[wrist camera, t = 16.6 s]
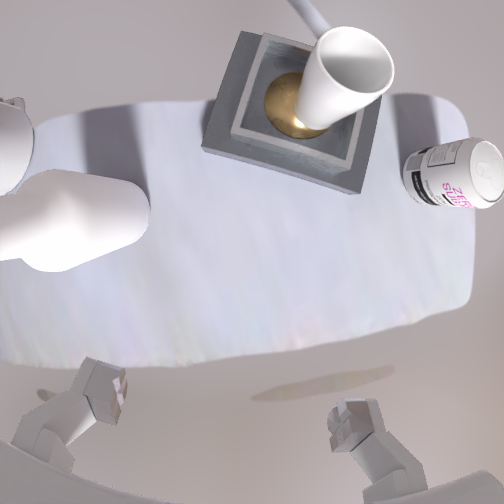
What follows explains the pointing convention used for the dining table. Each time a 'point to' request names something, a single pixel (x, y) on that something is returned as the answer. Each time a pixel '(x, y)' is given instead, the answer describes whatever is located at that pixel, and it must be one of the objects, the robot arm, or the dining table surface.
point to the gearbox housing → (284, 118)
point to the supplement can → (456, 174)
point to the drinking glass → (342, 76)
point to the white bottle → (70, 219)
